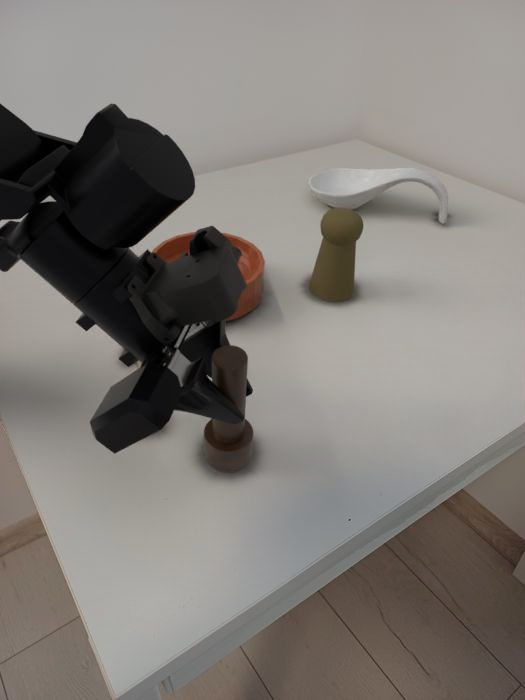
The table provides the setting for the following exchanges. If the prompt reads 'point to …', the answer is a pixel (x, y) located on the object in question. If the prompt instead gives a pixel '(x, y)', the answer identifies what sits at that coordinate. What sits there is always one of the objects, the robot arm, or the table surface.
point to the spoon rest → (370, 186)
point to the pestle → (222, 437)
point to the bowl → (248, 264)
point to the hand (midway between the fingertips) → (244, 407)
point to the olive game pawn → (336, 255)
